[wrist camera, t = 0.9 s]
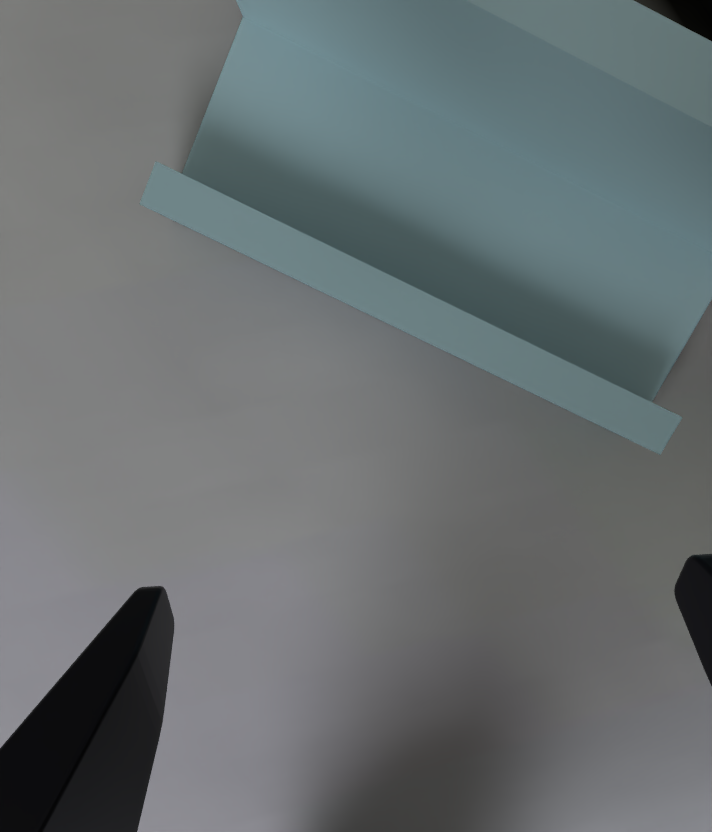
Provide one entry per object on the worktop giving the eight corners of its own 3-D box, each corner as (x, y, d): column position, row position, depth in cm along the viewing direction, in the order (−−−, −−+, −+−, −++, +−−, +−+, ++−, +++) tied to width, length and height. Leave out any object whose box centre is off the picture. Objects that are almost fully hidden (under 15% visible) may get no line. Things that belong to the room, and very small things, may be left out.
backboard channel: (623, 436, 23) (753, 500, 15) (170, 219, 22) (58, 165, 14) (745, 225, 21) (962, 173, 14) (264, -20, 20) (196, -230, 13)
